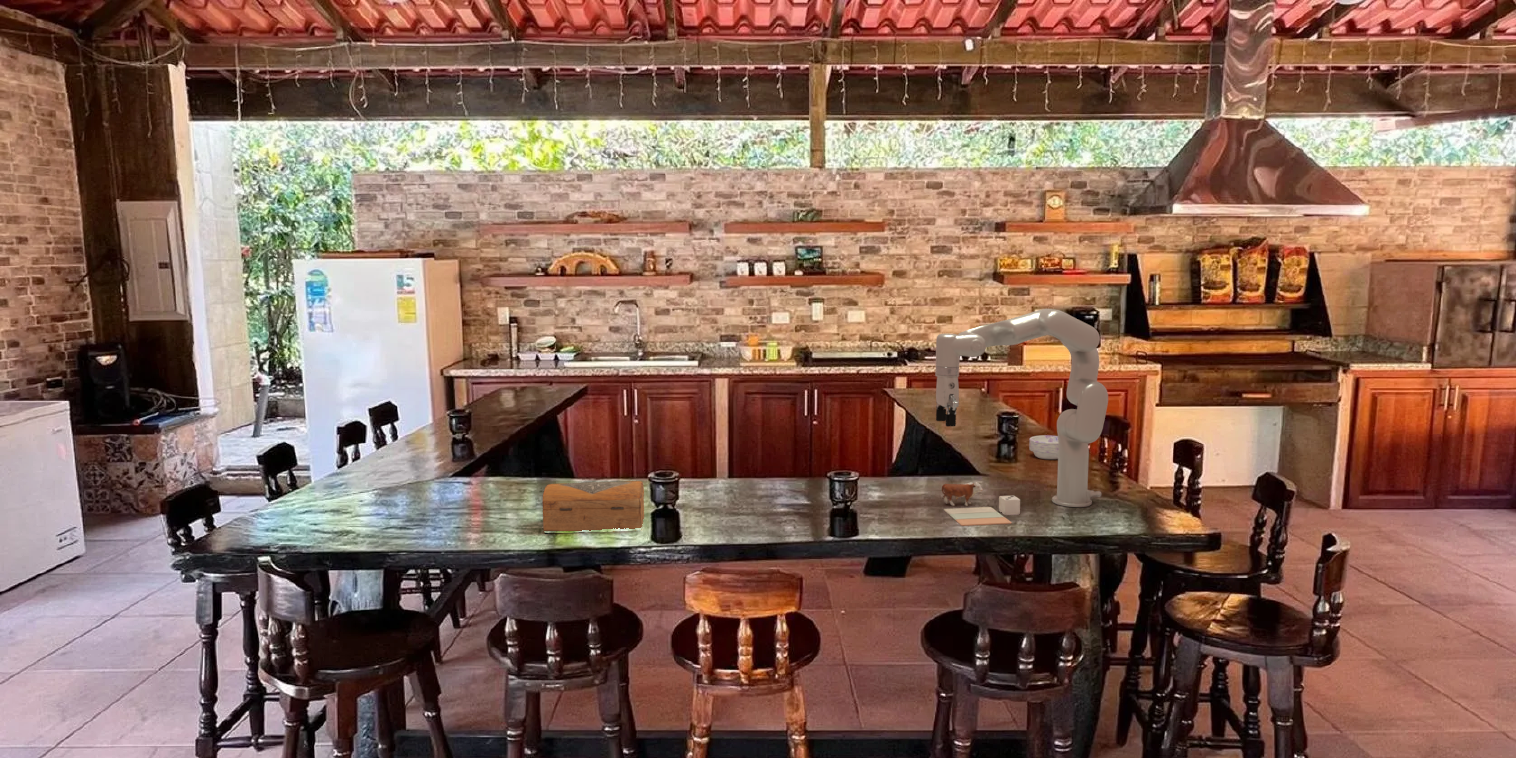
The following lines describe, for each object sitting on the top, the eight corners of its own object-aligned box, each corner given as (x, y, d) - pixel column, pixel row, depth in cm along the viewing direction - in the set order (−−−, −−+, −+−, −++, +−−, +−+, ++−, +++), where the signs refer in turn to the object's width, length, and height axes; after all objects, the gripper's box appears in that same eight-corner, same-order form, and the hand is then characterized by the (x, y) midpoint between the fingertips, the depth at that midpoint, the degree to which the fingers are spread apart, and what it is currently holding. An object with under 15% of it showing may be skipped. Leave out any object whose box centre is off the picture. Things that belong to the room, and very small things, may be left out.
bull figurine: (982, 507, 290) (983, 483, 289) (941, 505, 293) (941, 482, 292) (982, 504, 294) (982, 480, 293) (941, 502, 297) (941, 479, 296)
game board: (990, 508, 289) (990, 506, 289) (1011, 523, 272) (1011, 522, 272) (943, 510, 288) (943, 508, 288) (961, 525, 270) (961, 524, 270)
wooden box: (646, 517, 285) (644, 475, 283) (641, 532, 269) (640, 488, 267) (553, 519, 284) (551, 477, 282) (542, 535, 267) (540, 491, 265)
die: (1013, 510, 287) (1014, 495, 286) (1019, 514, 282) (1020, 499, 281) (998, 511, 286) (999, 496, 285) (1004, 515, 281) (1005, 500, 281)
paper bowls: (1022, 458, 362) (1023, 439, 361) (1037, 451, 373) (1038, 433, 372) (1059, 463, 352) (1059, 443, 351) (1073, 456, 364) (1073, 437, 363)
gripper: (967, 374, 276) (965, 428, 279) (949, 368, 293) (948, 418, 296) (944, 375, 276) (942, 428, 278) (927, 368, 293) (926, 419, 295)
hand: (945, 423), depth 287 cm, fingers open, 9 cm apart
